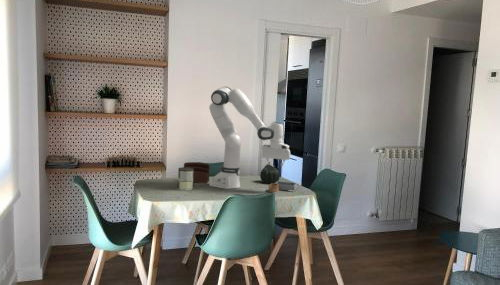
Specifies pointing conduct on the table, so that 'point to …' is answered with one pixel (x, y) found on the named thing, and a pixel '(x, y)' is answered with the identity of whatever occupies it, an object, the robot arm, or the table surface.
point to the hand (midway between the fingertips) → (275, 165)
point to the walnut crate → (273, 187)
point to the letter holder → (199, 171)
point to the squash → (269, 174)
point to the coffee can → (185, 178)
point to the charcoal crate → (286, 185)
